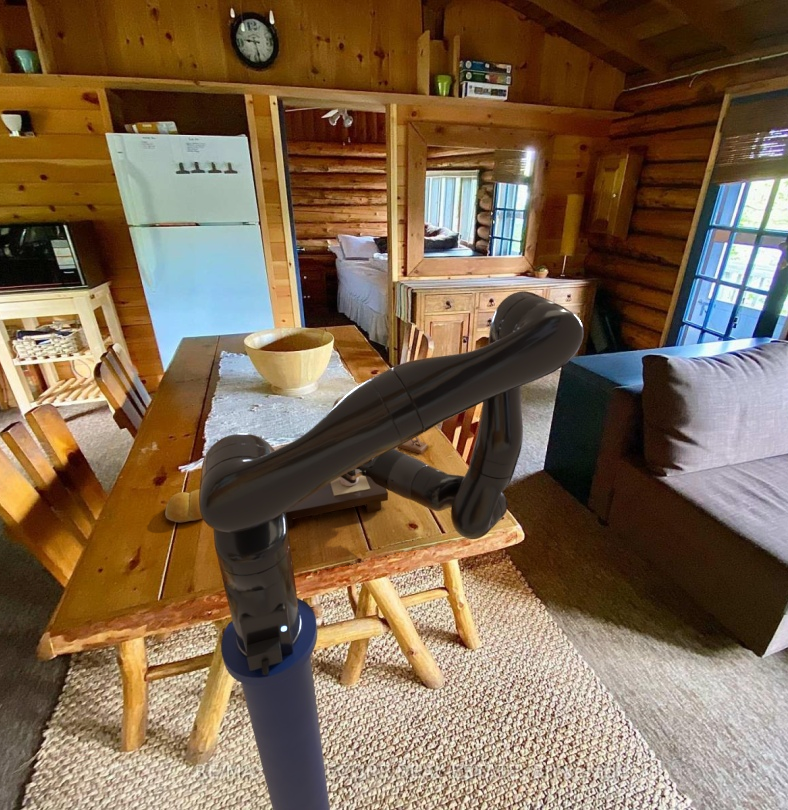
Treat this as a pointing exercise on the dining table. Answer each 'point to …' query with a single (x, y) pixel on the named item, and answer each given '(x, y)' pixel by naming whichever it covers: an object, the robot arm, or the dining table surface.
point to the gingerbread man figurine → (414, 446)
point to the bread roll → (183, 507)
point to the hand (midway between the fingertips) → (339, 445)
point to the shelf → (339, 498)
